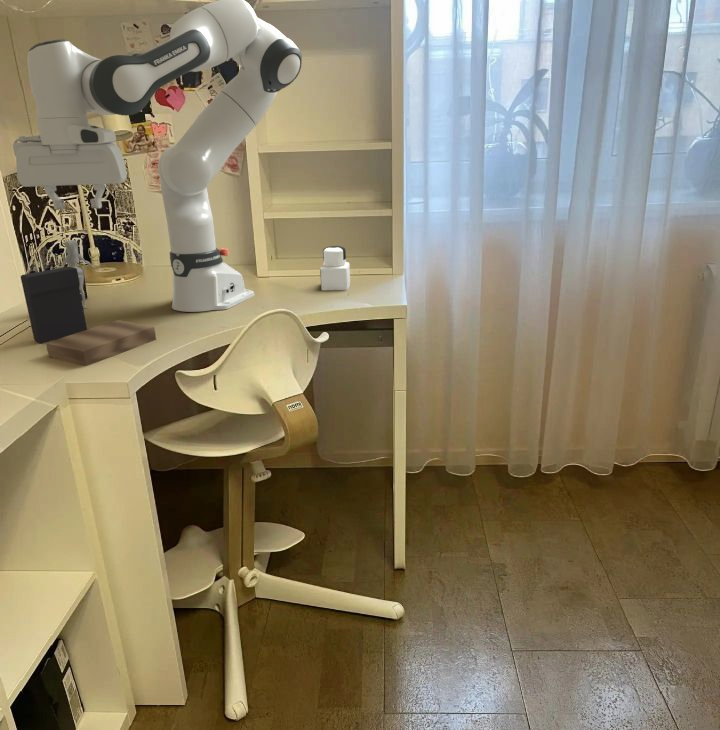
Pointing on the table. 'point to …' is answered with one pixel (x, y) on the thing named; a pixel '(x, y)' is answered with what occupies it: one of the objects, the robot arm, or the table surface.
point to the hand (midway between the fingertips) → (78, 208)
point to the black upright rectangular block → (54, 303)
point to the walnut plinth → (100, 342)
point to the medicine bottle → (335, 269)
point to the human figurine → (75, 264)
